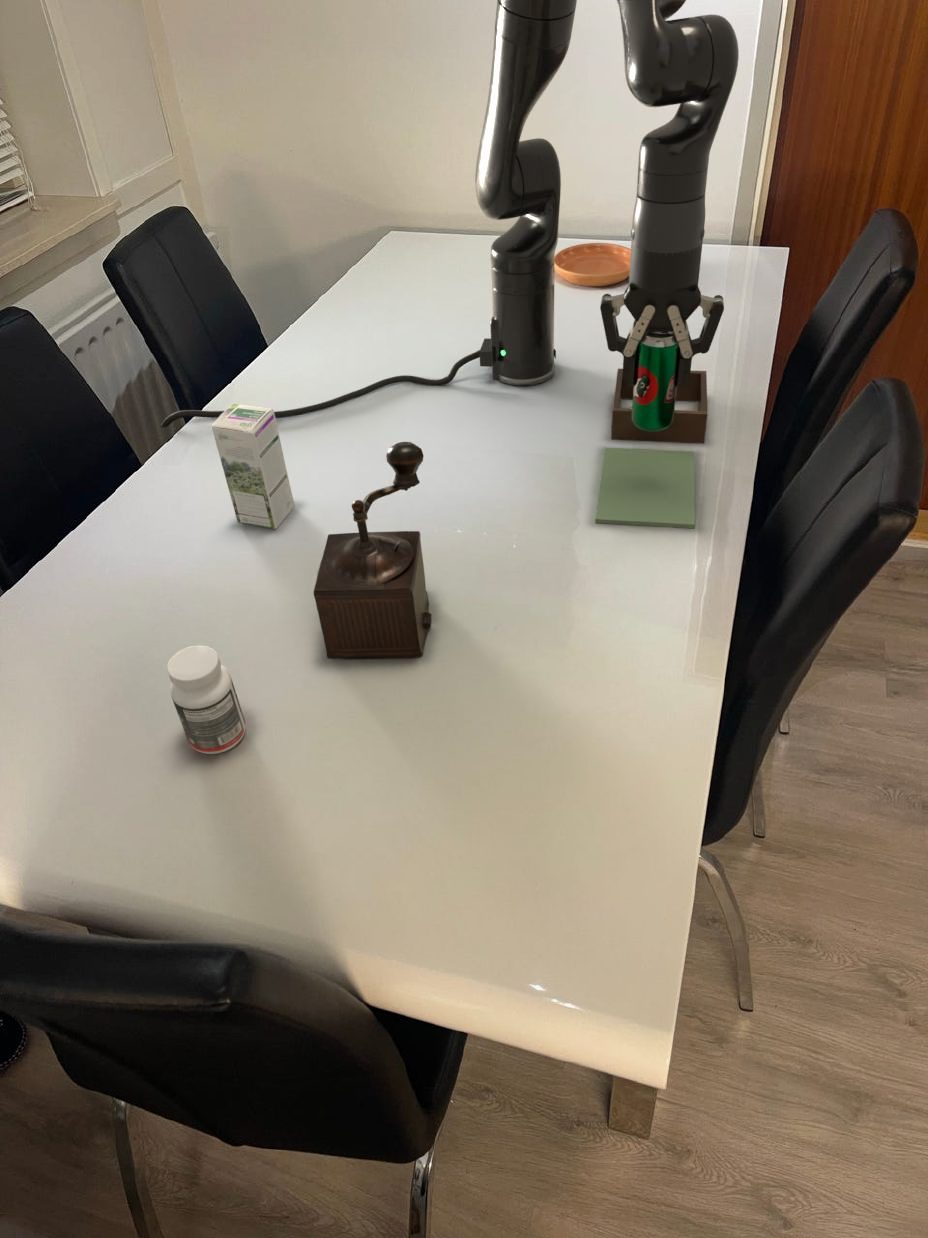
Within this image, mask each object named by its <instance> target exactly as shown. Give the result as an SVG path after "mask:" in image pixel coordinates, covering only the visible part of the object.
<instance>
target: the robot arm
mask: <svg viewBox="0 0 928 1238" xmlns="http://www.w3.org/2000/svg"><path fill="white" fill-rule="evenodd" d="M577 2H578V0H497V1H496V11H495V20H494V32H493V33H494V35H493V49H492V59H491V60H492V61H491V69H490V70H491V71H490V80H489V88H488V96H487V103H486V109H485V114H484V119H483V125H482V130H481V135H480V140H479V146H478V152H477V157H476V165H475V166H476V167H475V177H474V178H475V180H474V181H475V182H474V183H475V184H474V187H475V196H476V200H477V203H478V204H477V205H478V207H479V209H480V211H481V213H482V214H483V215H484V216H485V217H486V218H488V219H490V220H493V221H503V220H504V221H505V220H510V219H515V218H518V219H517V220H516V221H515V222H514V224H512V226H511V227H510V228H508V230H506V231H505V232H504V233H503V234H501V235H500V236H498V237H497V238H495V240H494V241H493V242H492V244H491V247H490V253H489V254H490V255H489V256H490V274H491V275H490V276H491V277H490V278H491V295H492V296H491V301H492V316H491V319H490V321H489V322H490V324H489V325H490V327H489V328H490V338H487V337H486V338H484V339H483V341H482V344H481V347H480V349H478V350H477V351H475V352H472V353H470V354H468V355H466V356H464V357H462V358H461V359H459V360H457V362H455V363H454V365H453V366H452V367H451V370H450V371H449V373H448V374H447V376H445V377H443V378H439V379H429V378H424V377H420V376H416V375H409V374H408V375H403V374H402V375H396V376H392V377H388V378H383V379H382V380H379V381H376V382H374V383H372V384H369V385H367V386H365V387H362V388H360V389H356V390H353V391H351V392H348V393H345V394H343V395H340V396H337V397H334V398H332V399H329V400H326V401H323V402H319V403H316V404H312V405H308V406H302V407H298V408H293V409H286V410H277V411H274V414H275V418H276V419H282V418H283V419H284V418H291V417H296V416H297V417H298V416H301V415H306V414H311V413H315V412H319V411H322V410H326V409H330V408H332V407H335V406H338V405H340V404H343V403H345V402H346V403H347V402H349V401H351V400H353V399H357V398H360V397H362V396H364V395H367V394H369V393H371V392H374V391H376V390H378V389H381V388H384V387H386V386H389V385H393V384H399V383H414V384H419V385H424V386H432V387H433V386H435V387H441V386H444V385H446V384H449V383H451V382H452V381H453V380H454V379H455V378H456V375H457V373H458V371H459V370H460V369H461V368H462V367H463V366H464V365H466V364H468V363H470V362H472V361H474V360H476V359H479V367H485V368H486V367H487V368H490V367H491V370H492V372H491V373H492V375H491V376H492V380H493V381H500V382H502V383H505V384H507V385H513V386H533V385H538V384H541V383H544V382H546V381H548V380H549V379H551V378H552V377H553V376H554V374H555V359H557V351H556V349H555V269H554V256H555V255H556V253H555V252H556V250H557V246H558V243H559V229H560V228H559V225H560V209H561V208H560V207H561V191H562V189H561V188H562V174H561V167H560V165H561V164H560V160H559V157H558V154H557V151H556V149H555V147H554V146H553V144H552V143H551V142H550V141H549V140H547V139H545V138H542V137H540V138H539V137H538V138H537V137H535V138H530V139H525V140H521V136H522V133H523V129H524V127H525V125H526V123H527V120H528V118H529V116H530V114H531V112H532V110H534V107H535V106H536V104H537V103H538V101H539V100H540V99H541V97H542V96H543V94H544V93H545V91H546V89H548V86H549V85H550V84H551V82H552V81H553V79H554V77H555V76H556V75H557V73H558V71H559V69H560V68H561V66H562V64H563V62H564V60H565V58H566V56H567V54H568V52H569V51H568V50H569V47H570V44H571V38H572V35H573V34H572V33H573V27H574V21H575V15H576V10H577V9H576V8H577ZM616 2H617V5H618V9H619V14H620V23H621V33H622V43H623V62H624V75H625V81H626V86H627V88H628V90H629V91H630V93H631V94H632V96H633V97H634V98H635V100H637V102H639V103H640V104H642V105H643V106H645V107H648V108H662V107H668V106H674V105H678V108H677V110H676V112H675V114H674V116H673V118H671V119H670V120H669V121H668V122H666V123H665V124H663V125H660V126H659V127H657V128H655V129H652V130H651V131H650V132H648V133H647V134H645V135H644V136H643V138H642V139H641V142H640V145H639V150H638V164H637V165H638V166H637V179H636V180H637V183H636V194H635V195H636V196H635V204H634V207H633V212H632V213H633V214H632V222H631V223H632V224H631V225H632V226H631V230H630V240H631V242H630V244H631V245H630V249H631V257H630V274H629V276H628V285H627V287H626V289H625V290H624V293H621V294H616V295H611V294H610V293H604V294H603V295H602V296H601V300H600V305H599V309H600V314H601V319H602V323H603V330H604V334H605V339H606V344H607V349H608V350H609V351H610V352H613V353H614V352H618V353H620V354H622V356H623V360H622V369H623V375H622V377H623V379H624V381H628V385H633V386H634V374H635V359H636V347H637V345H638V343H639V341H640V340H641V339H642V337H643V334H644V332H645V330H646V331H656V330H662V331H666V332H673V331H674V333H675V336H676V340H677V342H678V343H679V347H680V359H679V369H678V379H677V387H683V382H688V381H689V379H690V372H691V371H692V361H693V357H694V356H695V355H698V354H707V353H709V351H710V349H711V346H712V343H713V341H714V337H715V335H716V332H717V329H718V327H719V324H720V321H721V319H722V316H723V314H724V311H725V303H724V302H725V301H724V297H723V296H722V295H720V294H717V295H714V297H711V296H707V295H704V294H702V293H701V290H700V288H699V279H700V269H701V262H702V260H701V259H702V252H703V250H702V249H703V243H704V242H703V241H704V238H705V232H706V231H705V225H706V224H705V223H706V191H707V179H708V171H709V164H710V163H709V161H710V153H711V149H712V145H713V143H714V140H715V138H716V135H717V133H718V129H719V126H720V124H721V121H722V117H723V114H724V112H725V109H726V107H727V103H728V101H729V98H730V95H731V93H732V90H733V86H734V84H735V81H736V76H737V71H738V66H739V58H740V57H739V56H740V55H739V43H738V38H737V34H736V32H735V29H734V27H733V26H732V23H730V21H729V20H728V19H727V18H726V17H724V16H721V15H720V14H705V15H703V14H702V15H697V16H691V17H690V16H689V17H683V18H677V19H670V20H668V19H669V18H671V17H672V16H674V15H675V14H676V13H677V12H678V11H679V10H680V9H681V8H682V7H683V6H684V4H686V2H687V0H616ZM623 306H625V307H626V309H627V310H628V312H629V313H630V315H631V316H632V317H633V319H634V320H633V322H632V324H631V327H630V329H629V331H628V333H627V335H626V337H623V336H621V335H620V332H619V327H618V321H617V317H618V316H619V315H620V314H621V309H622V307H623ZM699 307H700V308H701V309H702V316H703V318H705V320H704V322H703V324H702V327H701V330H700V333H699V336H698V337H696V338H693V339H692V336H691V333H690V330H689V325H688V322H687V320H689V318H690V317H691V316H692V314H693V313H695V311H696V310H698V308H699ZM224 411H225V410H200V409H199V410H198V409H185V410H184V409H183V410H178V411H176V412H173V413H171V414H169V415H168V416H167V417H165V419H164V420H163V421H162V423H161V425H160V428H167V427H169V426H170V425H171V424H172V423H173V422H174V421H177V420H178V419H179V420H180V419H183V418H208V419H210V418H211V419H214V418H215V419H217V418H218V417H219V416H220V415H221V414H222V413H223V412H224Z"/></svg>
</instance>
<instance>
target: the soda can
mask: <svg viewBox="0 0 928 1238" xmlns="http://www.w3.org/2000/svg"><path fill="white" fill-rule="evenodd" d="M679 359H680V347H679V343H678V342H677V340H676V336H675V333H674V331H673V332H666V331H662V330H656V331H646V330H645V332H644V334H643V337H642V339H641V340H640V341H639V343H638V345H637V347H636V359H635V374H634V387H633V399H632V403H631V409H632V417H631V419H632V422H633V423H634V424H635V425H636V426H637V427H638V428H639V429H642V430H645V431H661V430H664V429H666V428H667V427H669V426H670V425H671V424H672V422H673V420H674V410H676V401H675V400H676V390H677V379H678V369H679Z"/></svg>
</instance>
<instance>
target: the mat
mask: <svg viewBox="0 0 928 1238" xmlns="http://www.w3.org/2000/svg"><path fill="white" fill-rule="evenodd" d="M695 452H696V451H694V450H693V451H692V450H671V449H670V450H669V449H649V448H626V447H625V448H624V447H623V448H621V447H604V448H603V457H602V465H601V473H600V479H599V487H598V495H597V502H596V509H595V518H594V523H595V524H610V525H627V526H645V527H647V526H648V527H663V528H679V529H680V528H681V529H696V528H695V527H696V476H695V475H696V462H695V461H696V458H695V457H696V456H695V455H696V454H695Z"/></svg>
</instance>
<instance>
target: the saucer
mask: <svg viewBox="0 0 928 1238" xmlns="http://www.w3.org/2000/svg"><path fill="white" fill-rule="evenodd" d="M630 257H631V248H629V247H628V246H623V245H620V244H617V243H610V242H588V243H579V244H575V245H572V246H571V245H570V246H568V247H565V248H563V249H561V250H560V251H558V252H557V253H555V254H554V271H556V273H557V274H558V275H559V276H561V277H562V278H563V279H564V280H565V281H567V282H569V283H571V284H574V285H576V286H577V285H578V286H582V287H583V286H584V287H606V286H611V285H615V284H619V283H621V282H622V281H625V280H626V279H627V278H629V274H630Z"/></svg>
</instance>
